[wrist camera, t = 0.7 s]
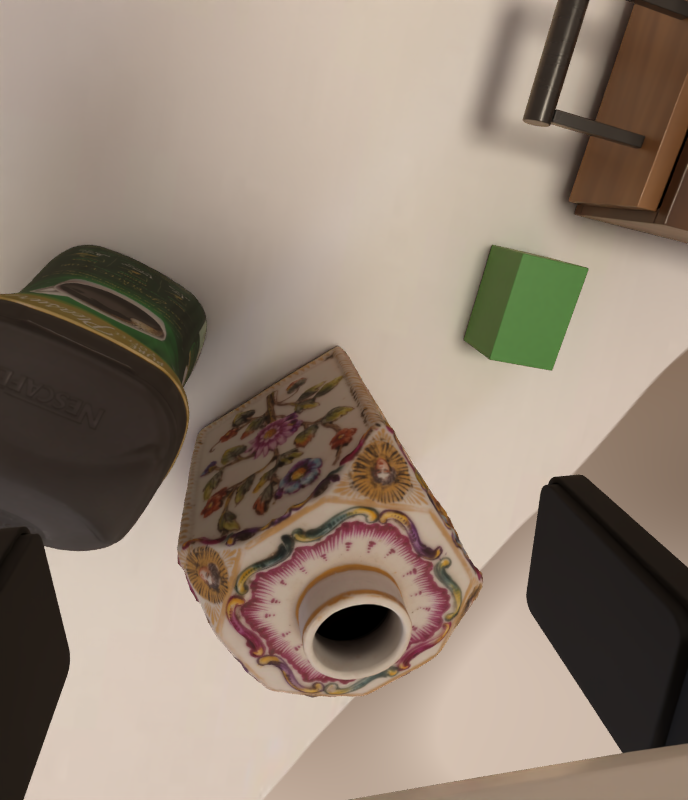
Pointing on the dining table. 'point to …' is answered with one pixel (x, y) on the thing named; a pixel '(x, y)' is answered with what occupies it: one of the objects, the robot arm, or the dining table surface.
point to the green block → (524, 307)
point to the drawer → (623, 104)
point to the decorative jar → (320, 539)
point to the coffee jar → (92, 395)
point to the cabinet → (676, 218)
